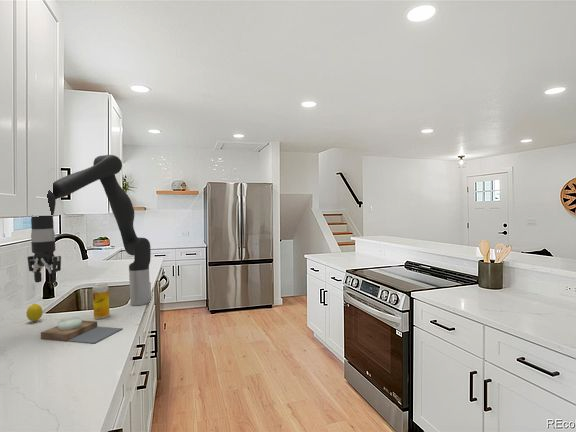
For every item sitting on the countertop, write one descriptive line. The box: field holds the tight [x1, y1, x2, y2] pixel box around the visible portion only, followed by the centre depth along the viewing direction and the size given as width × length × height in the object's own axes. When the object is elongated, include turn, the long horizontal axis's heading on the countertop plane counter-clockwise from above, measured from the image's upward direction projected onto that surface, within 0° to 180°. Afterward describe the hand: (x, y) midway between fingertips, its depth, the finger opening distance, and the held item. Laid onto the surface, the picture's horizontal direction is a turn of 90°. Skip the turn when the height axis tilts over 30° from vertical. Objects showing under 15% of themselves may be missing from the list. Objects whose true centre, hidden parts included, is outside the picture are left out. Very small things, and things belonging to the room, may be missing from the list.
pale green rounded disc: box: [56, 316, 83, 331], centre depth 129 cm, size 8×8×2 cm
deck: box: [40, 319, 98, 342], centre depth 129 cm, size 14×12×2 cm
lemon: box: [26, 303, 44, 323], centre depth 143 cm, size 6×6×8 cm
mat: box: [67, 326, 124, 345], centre depth 127 cm, size 14×12×1 cm
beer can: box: [92, 281, 110, 320], centre depth 147 cm, size 6×6×15 cm
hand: (45, 282), depth 131 cm, fingers open, 6 cm apart
